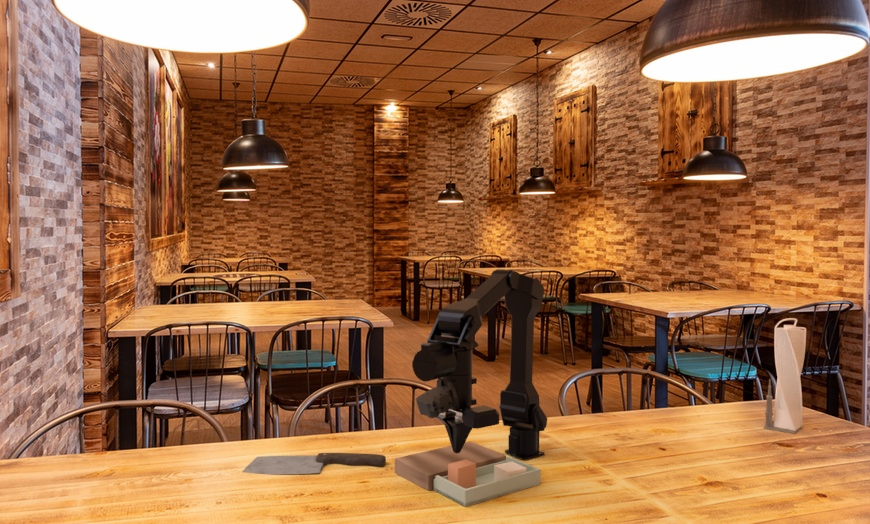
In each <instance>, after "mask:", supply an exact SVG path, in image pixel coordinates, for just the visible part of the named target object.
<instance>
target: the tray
mask: <svg viewBox="0 0 870 524" xmlns="http://www.w3.org/2000/svg"><path fill="white" fill-rule="evenodd" d="M512 461H513V462H515V463H517V464H519V465H521V466H523V467H525V468H526V472H524V473H521V474H517V475H513V476H510V477H506V478H503V479H499V480H496V481H495V480H494V465H498V464H502V463H507V462H512ZM541 471H542V470H541V468H539V467H536V466H533V465H532V464H529V463H526V462H523V461H521V460H518V459H515V458H514V457H511V456H506V460H504V461H500V462H497V463H493V464H489V465H485V466H481V467H477V468H476V486H475V487H471V488H467V489H465V488H463V487H461V486H459V485H457V484H455V483H453V482H451V481H449V480H448V475H447V476H443V477H441V476H439V475H437V476H435V479H434V490H433V491H435V492H436V493H438V494H439V495H442V496H444V498H445V497H446V498H447V499H449V500H451V501H453V502H455V503H457V504H458V505H461V506H463V507H464V508H467V507H469V506H474V505H476V504H481V503H483V502H486V501H490V500H493V499H496V498H500V497H503V496H507V495H509V494H513V493H517V492H520V491H523V490H526V489H530V488H532V487H535V486H540V485H541V482H542V481H541V480H542V479H541V475H542V473H541Z"/></svg>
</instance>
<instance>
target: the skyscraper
mask: <svg viewBox="0 0 870 524" xmlns="http://www.w3.org/2000/svg"><path fill="white" fill-rule="evenodd" d="M785 321H794V323H793V324H783V327H778V326H779V325H780V324H781V323H783V322H785ZM798 321H799V320H798V319H797V318H795V317H789V318H783V319H781V320H779V321H778V322H777V323H776V324H775V326H774V339H773V340H774V341H773V343H774V346H773V347H774V349H773V350H774V363H775V370H776V376H777V379H776V386H775V396H774V397H773V395H772V385H771V383H772V382H771V378H769V379H768V385H767V395H766V397H765V398H766V399H765V400H766V407H765V412H764V413H765V421H764V426H763V429H765V428H767V429H766V430H771V429H772V430H771V431H776V430H777V431H776V432H781V431H783V432H782V433H786V432H789V433H788V434H792V433H794V434H796V433H797V432H798V430H799V429H800V430H802V429H803V392H802V382H801V375H802V372H803V367H804V361H805V357H806V356H805V355H806V348H807V347H806V344H807V343H806V342H807V328H806V327H804V326H803V327H802V326H797V324H798ZM773 398H774V409H773ZM773 416H774V417H773ZM800 430H799V431H800ZM795 432H796V433H795Z"/></svg>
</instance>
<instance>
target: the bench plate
mask: <svg viewBox="0 0 870 524" xmlns="http://www.w3.org/2000/svg"><path fill="white" fill-rule="evenodd" d="M465 459H466V460H469V461H471V462H473V463H476V468H477V467H481V466H485V465H489V464H493V463H497V462H500V461H504V460H507V455H506V454H505V453H500V452H498V451H496V450H493V449H491V448H489V447H486V446H483V445H480V444H479V443H475V442H473V441H465V444H464V446H463V448H462V450H461V452H460V453H454V452H453V449H452V446H451V445H448V446H443V447H439V448H435V449H431V450H426V451H422V452H417V453H414V454H413V453H412V454H408V455H405V456H400V457H399V456H398V457H395V458H394V474H396V475H398V476H399V477H402V478H404V479H405V480H408V481H409V482H411V483H413V484H415V485H417V486H418V487H421V488H422V489H424V490H426V491H427V492H429V491H434V479H435V476H437V475H439V476H441V477H443V476H447V475H448V464H450V463H454V462H458V461H462V460H465Z"/></svg>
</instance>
